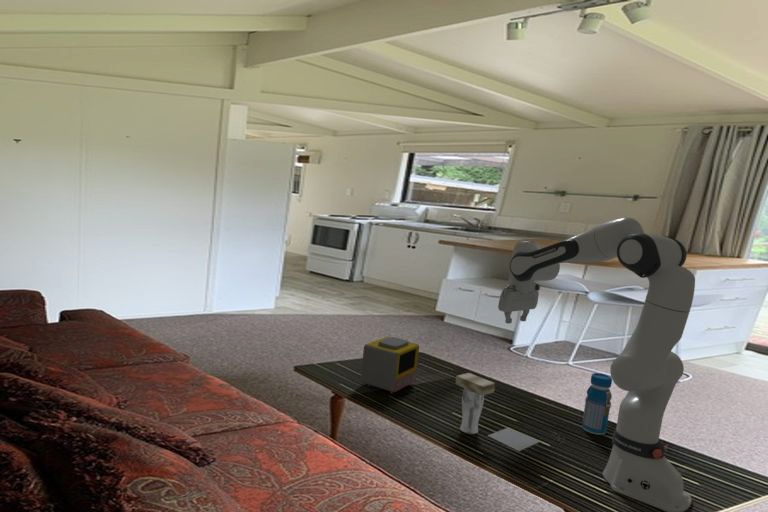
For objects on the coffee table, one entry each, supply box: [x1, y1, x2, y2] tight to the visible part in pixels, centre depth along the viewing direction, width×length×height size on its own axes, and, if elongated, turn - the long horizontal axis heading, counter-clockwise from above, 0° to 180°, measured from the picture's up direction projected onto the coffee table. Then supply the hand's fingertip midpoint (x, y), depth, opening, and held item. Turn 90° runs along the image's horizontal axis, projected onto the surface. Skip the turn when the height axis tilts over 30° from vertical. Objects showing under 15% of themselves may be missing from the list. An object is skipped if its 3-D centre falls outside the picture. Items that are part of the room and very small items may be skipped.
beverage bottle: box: [581, 372, 613, 436], centre depth 181 cm, size 8×8×20 cm
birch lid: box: [454, 372, 496, 396], centre depth 169 cm, size 11×7×3 cm, turn 42°
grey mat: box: [487, 427, 540, 452], centre depth 167 cm, size 12×12×1 cm
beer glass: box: [459, 388, 485, 435], centre depth 170 cm, size 7×7×15 cm
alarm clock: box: [360, 336, 420, 395], centre depth 204 cm, size 20×16×18 cm
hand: (515, 322), depth 187 cm, fingers open, 8 cm apart
